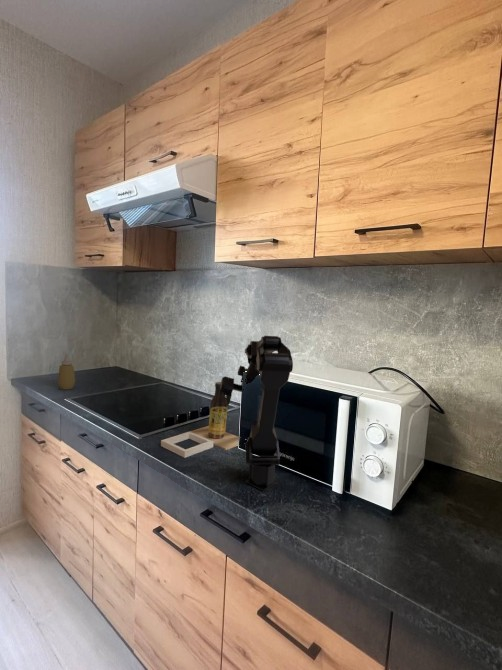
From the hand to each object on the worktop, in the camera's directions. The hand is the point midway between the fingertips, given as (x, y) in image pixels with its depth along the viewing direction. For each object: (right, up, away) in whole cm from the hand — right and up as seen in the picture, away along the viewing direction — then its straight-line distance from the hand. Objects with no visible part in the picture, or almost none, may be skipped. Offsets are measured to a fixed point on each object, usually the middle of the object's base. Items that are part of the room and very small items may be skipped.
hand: (240, 408), depth 125 cm
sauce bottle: (-9, -11, +5) cm, 15 cm away
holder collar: (-18, -12, -4) cm, 22 cm away
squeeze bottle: (-92, -2, +60) cm, 110 cm away
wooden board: (-9, -12, +5) cm, 16 cm away
